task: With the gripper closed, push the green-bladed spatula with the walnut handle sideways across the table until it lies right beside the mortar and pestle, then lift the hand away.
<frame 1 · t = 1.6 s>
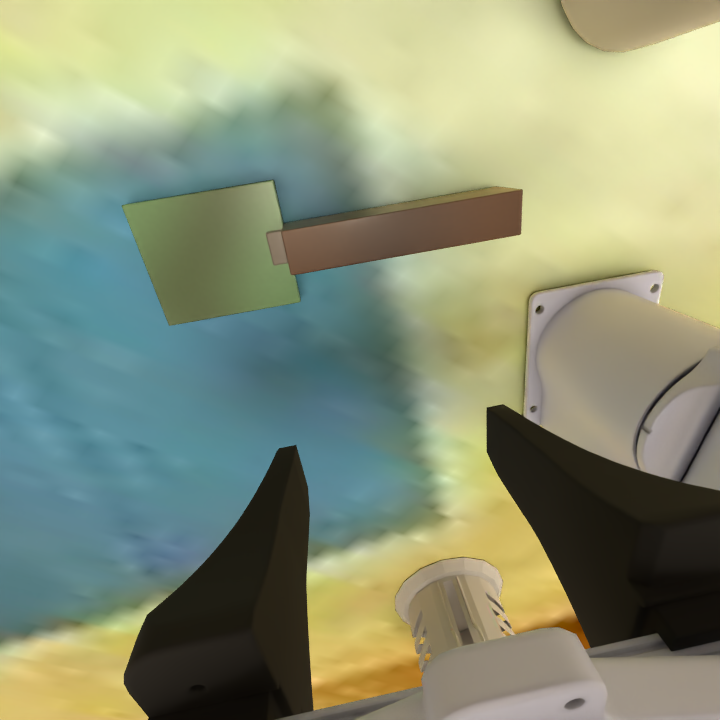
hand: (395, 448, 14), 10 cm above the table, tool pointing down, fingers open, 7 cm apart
french press: (447, 587, 35), on the table
spatula: (288, 243, 20), on the table
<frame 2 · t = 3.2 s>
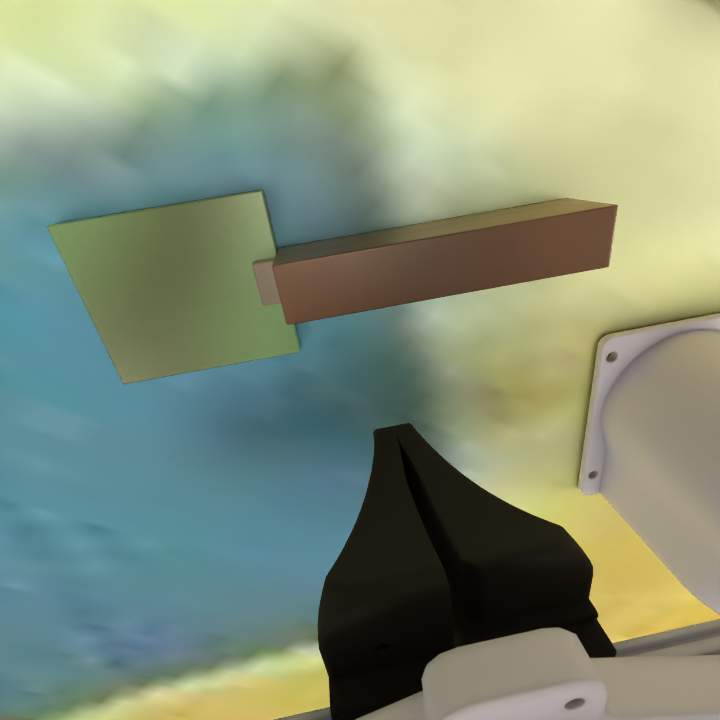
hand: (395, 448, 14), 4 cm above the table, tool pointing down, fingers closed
spatula: (283, 274, 15), on the table
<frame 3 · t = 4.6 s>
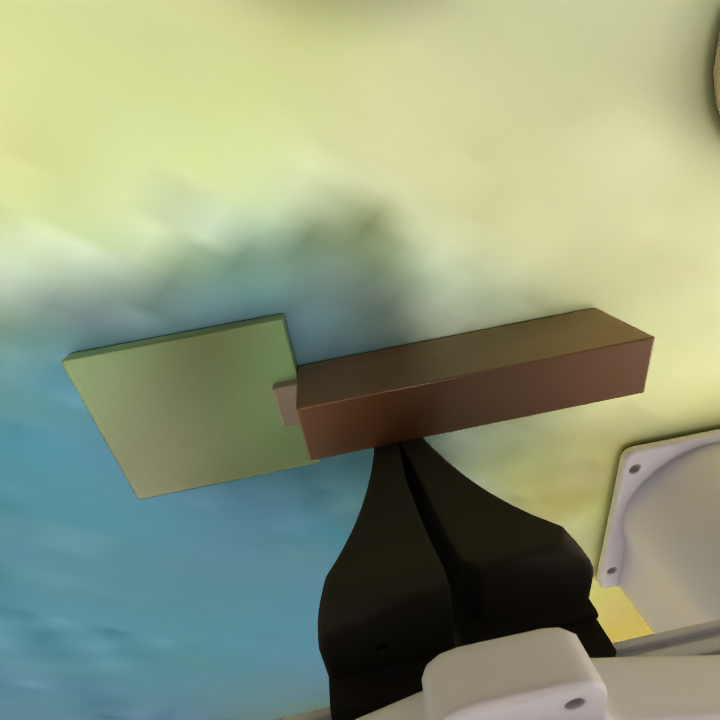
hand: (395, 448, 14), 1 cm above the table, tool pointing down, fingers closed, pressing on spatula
spatula: (303, 389, 14), on the table, touching gripper
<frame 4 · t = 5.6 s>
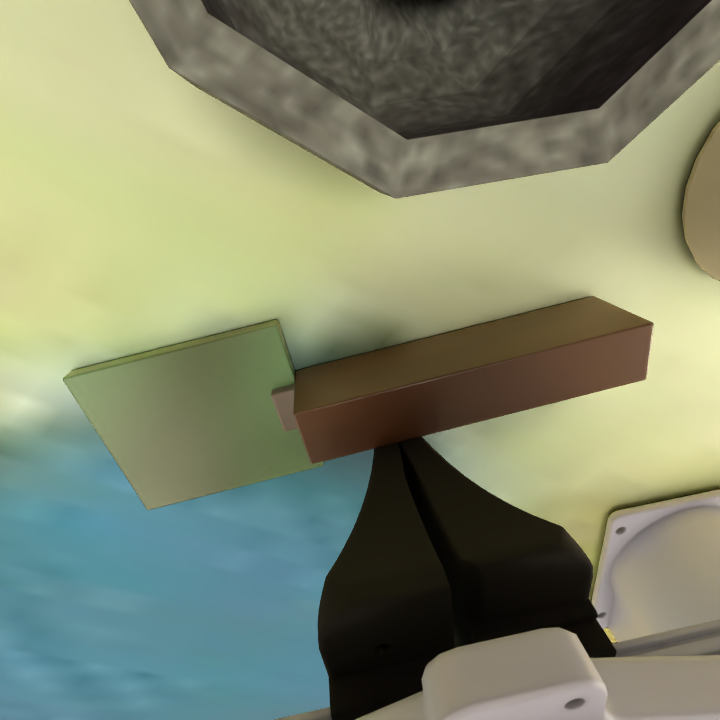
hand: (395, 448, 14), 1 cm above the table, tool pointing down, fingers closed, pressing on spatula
spatula: (302, 393, 15), on the table, touching gripper
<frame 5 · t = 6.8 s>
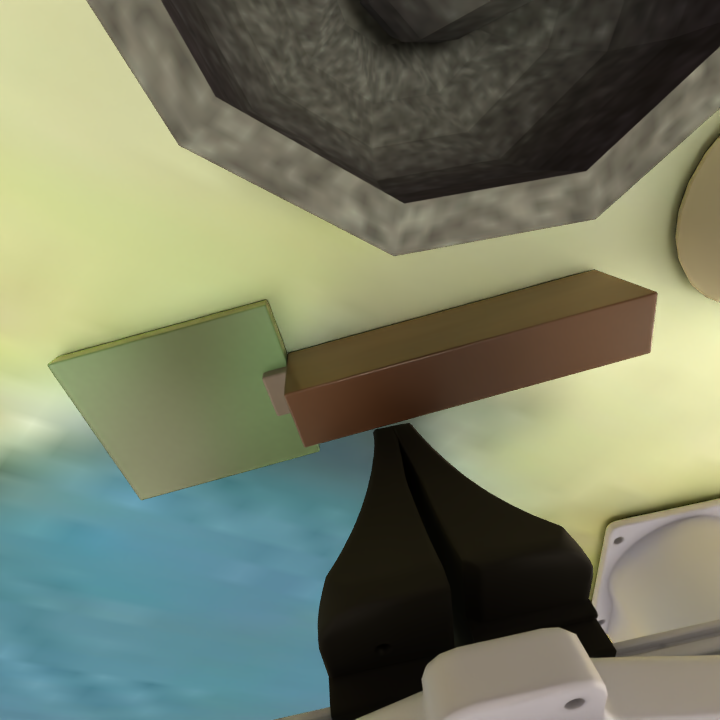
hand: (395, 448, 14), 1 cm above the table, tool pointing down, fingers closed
spatula: (296, 377, 14), on the table
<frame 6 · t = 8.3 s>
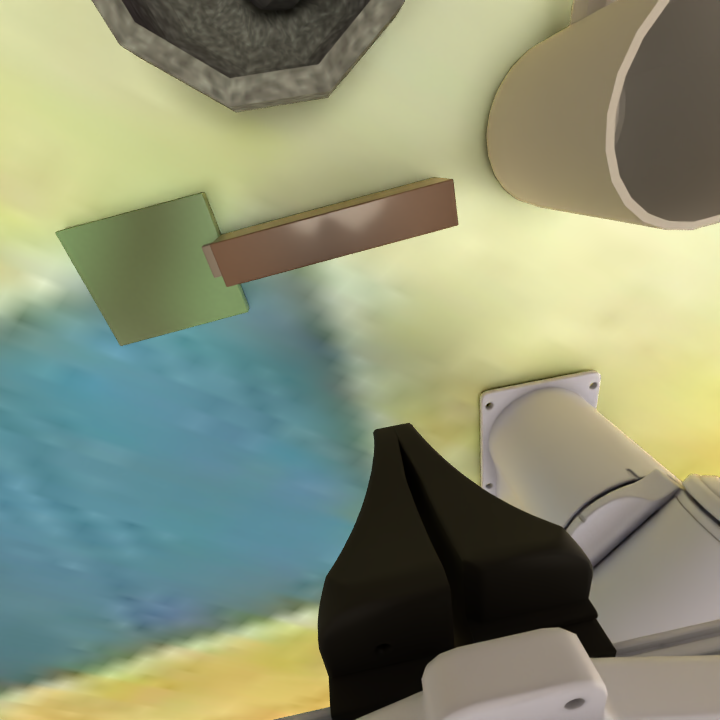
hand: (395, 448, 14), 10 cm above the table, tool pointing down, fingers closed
spatula: (228, 254, 20), on the table
cup: (554, 93, 19), on the table
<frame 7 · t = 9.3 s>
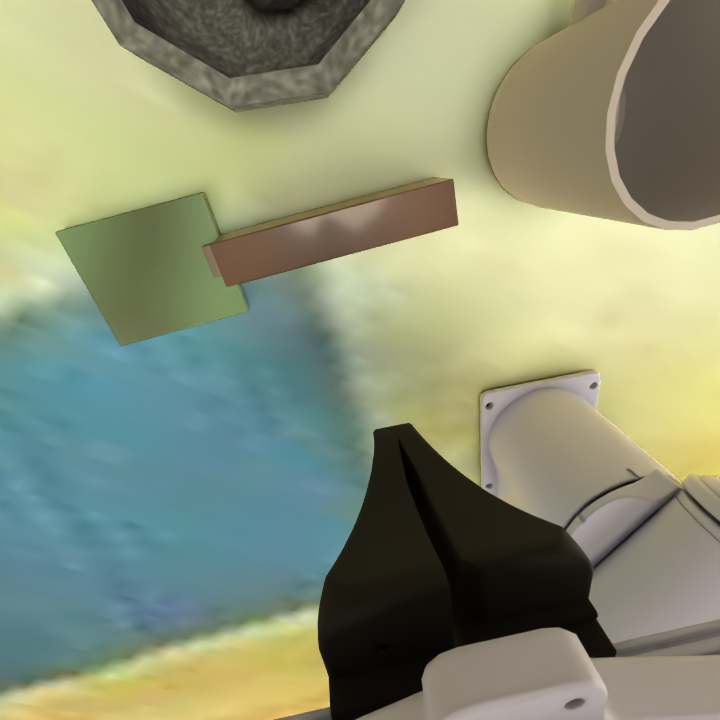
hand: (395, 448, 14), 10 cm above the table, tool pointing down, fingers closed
spatula: (228, 254, 20), on the table
cup: (554, 93, 19), on the table
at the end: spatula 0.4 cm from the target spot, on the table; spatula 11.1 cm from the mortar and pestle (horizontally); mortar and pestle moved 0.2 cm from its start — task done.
